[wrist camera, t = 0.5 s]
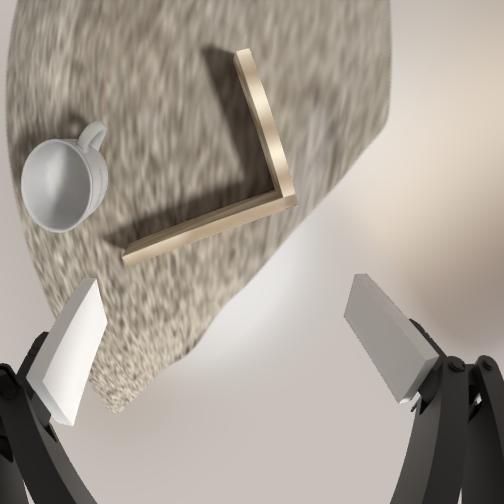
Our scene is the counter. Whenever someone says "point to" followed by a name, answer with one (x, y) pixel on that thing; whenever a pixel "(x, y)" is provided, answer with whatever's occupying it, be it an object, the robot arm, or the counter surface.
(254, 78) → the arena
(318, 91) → the counter surface
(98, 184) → the teacup
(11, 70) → the counter surface
